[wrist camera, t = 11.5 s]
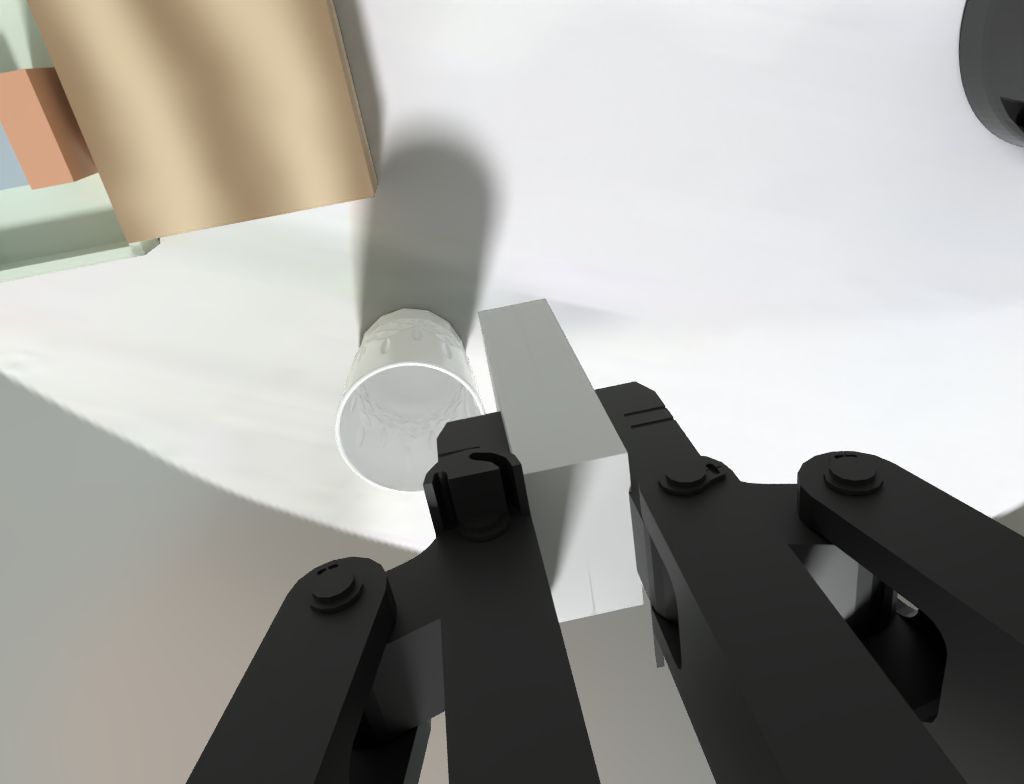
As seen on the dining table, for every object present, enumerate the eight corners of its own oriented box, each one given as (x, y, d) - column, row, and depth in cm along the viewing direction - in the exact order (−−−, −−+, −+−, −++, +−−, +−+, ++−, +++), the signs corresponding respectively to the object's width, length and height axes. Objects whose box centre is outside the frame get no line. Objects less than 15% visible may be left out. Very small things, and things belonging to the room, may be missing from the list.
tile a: (24, 68, 32) (-21, 76, 32) (74, 182, 34) (31, 189, 34) (72, 66, 36) (33, 73, 36) (113, 166, 38) (76, 173, 38)
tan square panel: (319, -59, 36) (308, -71, 32) (377, 183, 41) (374, 196, 37) (58, -13, 35) (18, -20, 31) (153, 226, 40) (128, 243, 37)
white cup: (324, 341, 45) (302, 413, 36) (428, 274, 44) (432, 332, 35) (396, 430, 48) (393, 517, 39) (495, 371, 47) (514, 446, 38)
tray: (49, -36, 35) (24, -42, 32) (159, 243, 41) (145, 254, 39) (-159, 1, 34) (-200, -3, 32) (-16, 277, 40) (-41, 290, 38)
